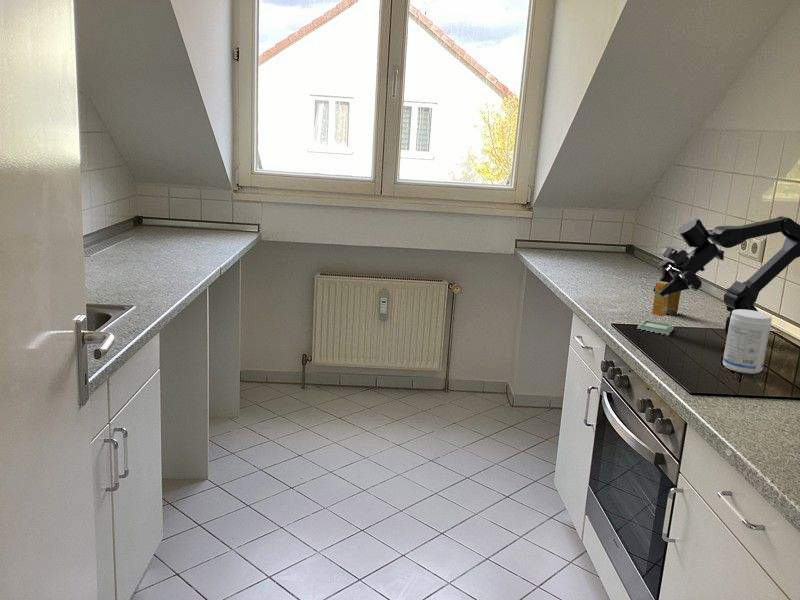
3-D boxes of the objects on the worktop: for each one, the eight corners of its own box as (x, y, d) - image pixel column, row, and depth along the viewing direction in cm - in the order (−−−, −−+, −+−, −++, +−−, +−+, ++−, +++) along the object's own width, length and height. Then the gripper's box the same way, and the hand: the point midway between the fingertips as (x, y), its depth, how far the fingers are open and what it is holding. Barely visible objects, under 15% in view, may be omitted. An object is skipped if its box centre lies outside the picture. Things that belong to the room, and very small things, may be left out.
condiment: (653, 309, 255) (659, 275, 252) (677, 311, 256) (683, 276, 253) (662, 315, 248) (668, 279, 245) (687, 316, 249) (693, 281, 246)
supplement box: (650, 314, 226) (655, 281, 224) (656, 313, 228) (660, 280, 226) (661, 316, 224) (665, 283, 222) (666, 315, 226) (671, 282, 224)
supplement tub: (736, 361, 200) (746, 307, 197) (769, 372, 192) (780, 317, 189) (713, 364, 195) (723, 310, 191) (746, 376, 187) (758, 319, 184)
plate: (672, 329, 229) (673, 324, 229) (668, 335, 221) (669, 330, 221) (642, 323, 233) (643, 319, 233) (637, 329, 225) (637, 324, 225)
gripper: (669, 233, 230) (629, 267, 232) (697, 243, 212) (654, 279, 214) (689, 260, 233) (650, 293, 234) (719, 272, 215) (677, 307, 216)
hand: (657, 292), depth 224 cm, fingers closed on supplement box, 4 cm apart
